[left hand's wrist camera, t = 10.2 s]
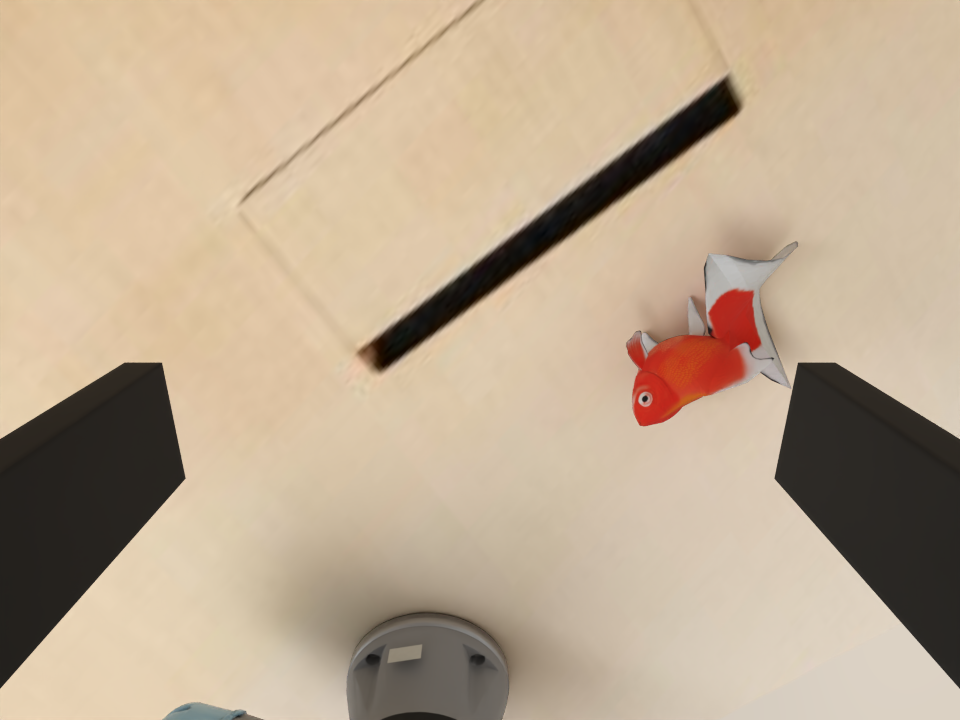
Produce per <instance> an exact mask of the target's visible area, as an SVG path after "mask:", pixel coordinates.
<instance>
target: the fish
mask: <svg viewBox="0 0 960 720" xmlns="http://www.w3.org/2000/svg"><path fill="white" fill-rule="evenodd" d="M797 247H798V242H797V241H795V242H794V243H792V244H790V245H788V246H786V247H785V248H784V249H782V250H781V251H780V252H779V253H778V254H777V255H776V256H775V257H774V258H773V259H771V260H768V261H762V260H746V259H741V258H737V257H733V256H728V255H719V254H708V257H707V260H706V263H705V266H704V275H705V290H706V314H707V324H708V333H709V334H710V335H711V336H704V335H705V325H704V323H703V321H702V319H701V317H700V315H699V313H698V311H697V309H696V307H695V305H694V302H693V300H692V298H691V297H689V298H688V324H689V335H681V336H676V337H673V338H670V339H667V340H665V341H663V342H661V343H657V342H656V341H654V340H653V339H652V338H651V337H650V336H649V335H648V334H647V333H643V334H642V335H641V331H637V332H635V333H634V335H633V337H632V338H631V339H630V340H629V341H628V342H627V345H626V347H627V349H628V355H629V356H630V358H631V359H632V361H633V362H634V363H635V364H636V366H637V367H638V368H639V370H638V373H637V376H636V379H635V383H634V388H633V394H632V408H633V412H634V415H635V417H636V419H637V421H638V423H639V425H640V426H648V425H652V424H657V423H662V422H664V421H666V420H668V419H670V418H671V417H673V416H674V415H675V414H676V413H677V412H678V411H679V410H680V409H681V408H682V407H683V406H685V405H687V404H689V403H691V402H693V401H695V400H697V399H699V398H701V397H702V396H707V395H712V394H715V393H718V392H721V391H724V390H727V389H730V388H733V387H736V386H739V385H741V384H744V383H747V382H748V381H750V380H751V379H752V378H754V377H755V376H756V375H758V374H759V373H762V374H763V375H765V376H766V377H767V378H769V379H770V380H772V381H774V382H777V383H779V384H781V385H784V386H786V387H788V388H790V389H791V387H790V384H789V381H788V379H787V376H786V374H785V371H784V369H783V366H782V364H781V361H780V358H779V356H778V353H777V351H776V348H775V346H774V343H773V340H772V338H771V335H770V333H769V330H768V327H767V324H766V321H765V317H764V314H763V311H762V308H761V302H760V294H759V290H760V287H761V286H762V284H763V283H764V282H765V281H766V280H767V279H768V277H769V276H770V275H771V274H772V273H773V272H774V271H775V270H776V269H777V268H778V267H779V266H780V264H781V263H782V262H783V261H784V260H785V259H786V258H787V257H788V256H789V255H790V254H791V253H792V252H793V251H794V250H795V249H796V248H797Z"/></svg>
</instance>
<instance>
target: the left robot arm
mask: <svg viewBox="0 0 960 720" xmlns="http://www.w3.org/2000/svg"><path fill="white" fill-rule="evenodd" d="M185 479H186V478H185V474H184V469H183V464H182V459H181V454H180V449H179V444H178V439H177V434H176V429H175V425H174V420H173V415H172V410H171V405H170V400H169V395H168V390H167V385H166V380H165V375H164V371H163V366H162V363H123V364H122V365H120V366H119V367H117V368H115V369H114V370H112V371H110V372H109V373H107V374H106V375H104V376H102V377H101V378H99V379H97V380H96V381H94V382H93V383H91V384H89V385H88V386H86V387H84V388H83V389H81V390H80V391H78V392H76V393H75V394H73V395H71V396H70V397H68V398H66V399H65V400H63V401H62V402H60V403H58V404H57V405H55V406H53V407H52V408H50V409H49V410H47V411H45V412H44V413H42V414H40V415H39V416H37V417H36V418H34V419H32V420H31V421H29V422H27V423H26V424H24V425H22V426H21V427H19V428H18V429H16V430H14V431H13V432H11V433H9V434H8V435H6V436H5V437H3V438H1V439H0V688H1V687H2V686H3V685H4V684H5V683H6V681H7V680H8V679H9V678H10V677H11V676H12V675H13V673H14V672H15V671H16V670H17V669H18V668H19V667H20V666H21V664H22V663H23V662H24V661H25V660H26V659H27V658H28V656H29V655H30V654H31V653H32V652H33V651H34V650H35V649H36V647H37V646H38V645H39V644H40V643H41V642H42V641H43V639H44V638H45V637H46V636H47V635H48V634H49V633H50V632H51V630H52V629H53V628H54V627H55V626H56V625H57V624H58V622H59V621H60V620H61V619H62V618H63V617H64V616H65V615H66V613H67V612H68V611H69V610H70V609H71V608H72V607H73V605H74V604H75V603H76V602H77V601H78V600H79V599H80V598H81V596H82V595H83V594H84V593H85V592H86V591H87V590H88V588H89V587H90V586H91V585H92V584H93V583H94V582H95V581H96V579H97V578H98V577H99V576H100V575H101V574H102V573H103V571H104V570H105V569H106V568H107V567H108V566H109V565H110V564H111V562H112V561H113V560H114V559H115V558H116V557H117V556H118V554H119V553H120V552H121V551H122V550H123V549H124V548H125V547H126V545H127V544H128V543H129V542H130V541H131V540H132V539H133V537H134V536H135V535H136V534H137V533H138V532H139V531H140V530H141V528H142V527H143V526H144V525H145V524H146V523H147V522H148V520H149V519H150V518H151V517H152V516H153V515H154V514H155V513H156V511H157V510H158V509H159V508H160V507H161V506H162V505H163V503H164V502H165V501H166V500H167V499H168V498H169V497H170V496H171V494H172V493H173V492H174V491H175V490H176V489H177V488H178V486H179V485H180V484H181V483H182V482H183V481H184V480H185ZM774 479H775V480H776V481H777V482H778V483H779V484H780V485H781V486H782V488H783V489H784V490H785V491H786V492H787V493H788V494H789V496H790V497H791V498H792V499H793V500H794V501H795V502H796V503H797V505H798V506H799V507H800V508H801V509H802V510H803V511H804V513H805V514H806V515H807V516H808V517H809V518H810V519H811V520H812V522H813V523H814V524H815V525H816V526H817V527H818V528H819V530H820V531H821V532H822V533H823V534H824V535H825V536H826V537H827V539H828V540H829V541H830V542H831V543H832V544H833V545H834V547H835V548H836V549H837V550H838V551H839V552H840V553H841V554H842V556H843V557H844V558H845V559H846V560H847V561H848V562H849V564H850V565H851V566H852V567H853V568H854V569H855V570H856V571H857V573H858V574H859V575H860V576H861V577H862V578H863V579H864V581H865V582H866V583H867V584H868V585H869V586H870V587H871V588H872V590H873V591H874V592H875V593H876V594H877V595H878V596H879V598H880V599H881V600H882V601H883V602H884V603H885V604H886V605H887V607H888V608H889V609H890V610H891V611H892V612H893V613H894V615H895V616H896V617H897V618H898V619H899V620H900V621H901V622H902V624H903V625H904V626H905V627H906V628H907V629H908V630H909V632H910V633H911V634H912V635H913V636H914V637H915V638H916V639H917V641H918V642H919V643H920V644H921V645H922V646H923V647H924V649H925V650H926V651H927V652H928V653H929V654H930V655H931V656H932V658H933V659H934V660H935V661H936V662H937V663H938V664H939V666H940V667H941V668H942V669H943V670H944V671H945V672H946V673H947V675H948V676H949V677H950V678H951V679H952V680H953V681H954V683H955V684H956V685H957V686H958V687H959V688H960V439H959V438H957V437H955V436H954V435H952V434H951V433H949V432H947V431H946V430H944V429H942V428H941V427H939V426H938V425H936V424H934V423H933V422H931V421H929V420H928V419H926V418H924V417H923V416H921V415H920V414H918V413H916V412H915V411H913V410H911V409H910V408H908V407H907V406H905V405H903V404H902V403H900V402H898V401H897V400H895V399H894V398H892V397H890V396H889V395H887V394H885V393H884V392H882V391H880V390H879V389H877V388H876V387H874V386H872V385H871V384H869V383H867V382H866V381H864V380H863V379H861V378H859V377H858V376H856V375H854V374H853V373H851V372H850V371H848V370H846V369H845V368H843V367H841V366H840V365H838V364H837V363H798V366H797V371H796V375H795V380H794V385H793V390H792V395H791V400H790V405H789V410H788V415H787V420H786V425H785V429H784V434H783V439H782V444H781V449H780V454H779V459H778V464H777V469H776V474H775V478H774ZM508 693H509V680H508V667H507V662H506V659H505V656H504V654H503V652H502V650H501V649H500V647H499V646H498V644H497V643H496V642H495V641H494V640H493V639H492V637H491V636H489V635H488V634H487V633H486V632H485V631H483V630H482V629H480V628H479V627H477V626H475V625H474V624H472V623H470V622H467V621H465V620H462V619H460V618H456V617H453V616H449V615H443V614H435V613H418V614H410V615H405V616H401V617H397V618H394V619H392V620H389V621H387V622H385V623H383V624H381V625H379V626H377V627H376V628H374V629H373V630H372V631H370V632H369V633H368V634H367V635H366V636H365V637H364V638H363V639H362V640H361V641H360V643H359V644H358V646H357V647H356V649H355V651H354V653H353V656H352V659H351V663H350V667H349V671H348V676H347V701H348V710H349V718H350V720H502V718H503V714H504V711H505V708H506V704H507V699H508ZM163 720H263V719H260V718H257V717H254V716H251V715H248V714H247V713H246V711H244V710H235V711H231V710H227V709H223V708H219V707H215V706H211V705H207V704H203V703H195V702H194V703H188V704H185V705H182V706H180V707H178V708H176V709H175V710H173V711H172V712H171V713H169V714H168V715H167V716H166V717H165V718H164V719H163Z"/></svg>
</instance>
